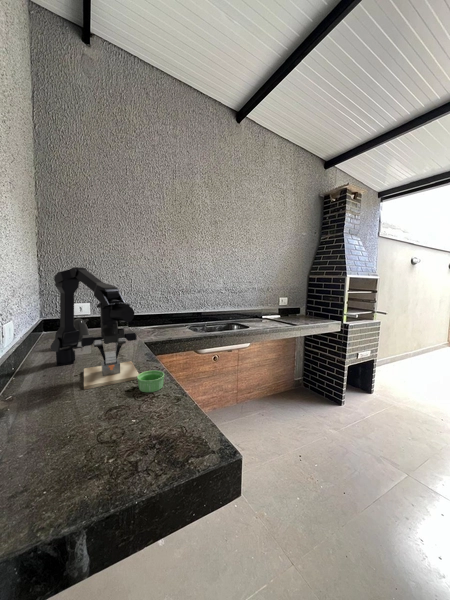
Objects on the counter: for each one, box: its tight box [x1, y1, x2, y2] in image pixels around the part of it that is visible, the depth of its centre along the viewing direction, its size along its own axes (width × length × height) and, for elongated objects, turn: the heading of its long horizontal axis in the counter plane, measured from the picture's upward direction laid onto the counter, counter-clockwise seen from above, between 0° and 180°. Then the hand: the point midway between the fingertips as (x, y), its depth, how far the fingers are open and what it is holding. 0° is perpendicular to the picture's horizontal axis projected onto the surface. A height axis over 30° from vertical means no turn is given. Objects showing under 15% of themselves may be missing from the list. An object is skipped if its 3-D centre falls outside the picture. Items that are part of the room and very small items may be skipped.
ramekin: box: [136, 369, 165, 393], centre depth 82 cm, size 9×9×4 cm
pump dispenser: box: [74, 318, 90, 348], centre depth 130 cm, size 10×10×15 cm
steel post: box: [104, 350, 116, 365], centre depth 92 cm, size 4×4×7 cm
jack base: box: [83, 358, 140, 390], centre depth 92 cm, size 18×18×5 cm
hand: (110, 359), depth 92 cm, fingers closed on steel post, 4 cm apart
